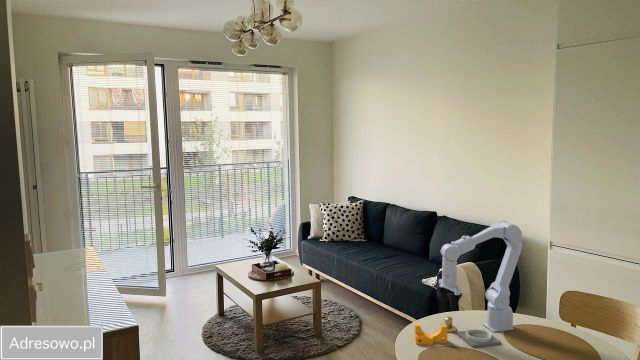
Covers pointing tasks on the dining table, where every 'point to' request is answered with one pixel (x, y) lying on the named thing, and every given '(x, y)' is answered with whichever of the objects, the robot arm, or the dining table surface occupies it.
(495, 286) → the robot arm
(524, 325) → the dining table surface
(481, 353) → the dining table surface
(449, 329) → the brass cabinet knob
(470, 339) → the carrier plate
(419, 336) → the pipe clamp
